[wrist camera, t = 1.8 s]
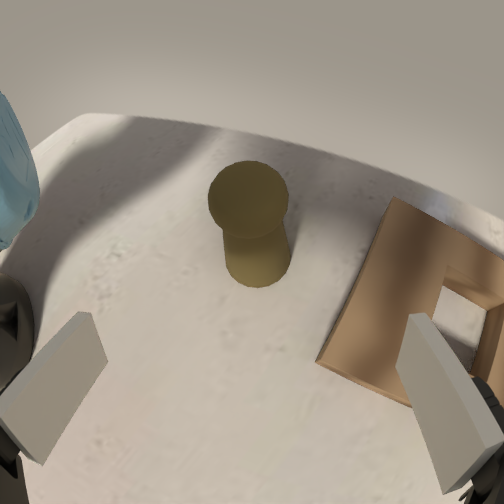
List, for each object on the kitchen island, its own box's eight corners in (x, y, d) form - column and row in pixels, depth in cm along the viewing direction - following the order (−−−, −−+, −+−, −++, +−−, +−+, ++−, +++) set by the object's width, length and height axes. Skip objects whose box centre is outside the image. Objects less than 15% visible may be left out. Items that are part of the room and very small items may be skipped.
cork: (250, 217, 29) (236, 135, 19) (303, 247, 28) (314, 171, 18) (212, 264, 28) (176, 196, 18) (265, 300, 26) (257, 245, 16)
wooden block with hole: (314, 362, 23) (320, 359, 20) (383, 215, 28) (393, 196, 25) (492, 439, 17) (513, 441, 14) (530, 303, 22) (548, 293, 19)
